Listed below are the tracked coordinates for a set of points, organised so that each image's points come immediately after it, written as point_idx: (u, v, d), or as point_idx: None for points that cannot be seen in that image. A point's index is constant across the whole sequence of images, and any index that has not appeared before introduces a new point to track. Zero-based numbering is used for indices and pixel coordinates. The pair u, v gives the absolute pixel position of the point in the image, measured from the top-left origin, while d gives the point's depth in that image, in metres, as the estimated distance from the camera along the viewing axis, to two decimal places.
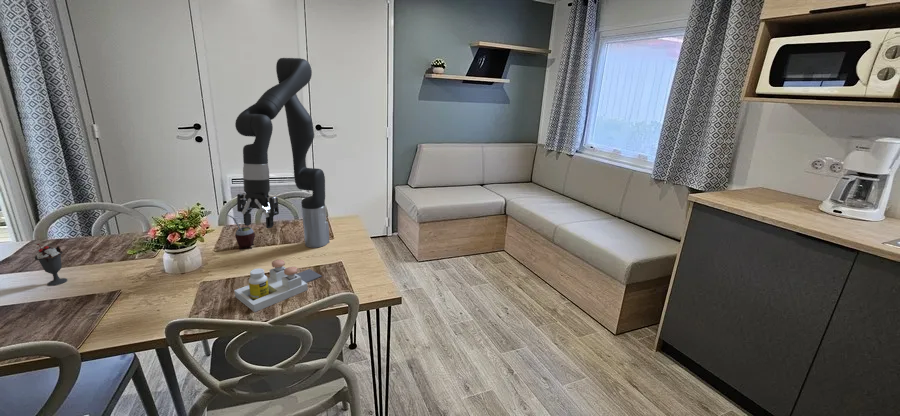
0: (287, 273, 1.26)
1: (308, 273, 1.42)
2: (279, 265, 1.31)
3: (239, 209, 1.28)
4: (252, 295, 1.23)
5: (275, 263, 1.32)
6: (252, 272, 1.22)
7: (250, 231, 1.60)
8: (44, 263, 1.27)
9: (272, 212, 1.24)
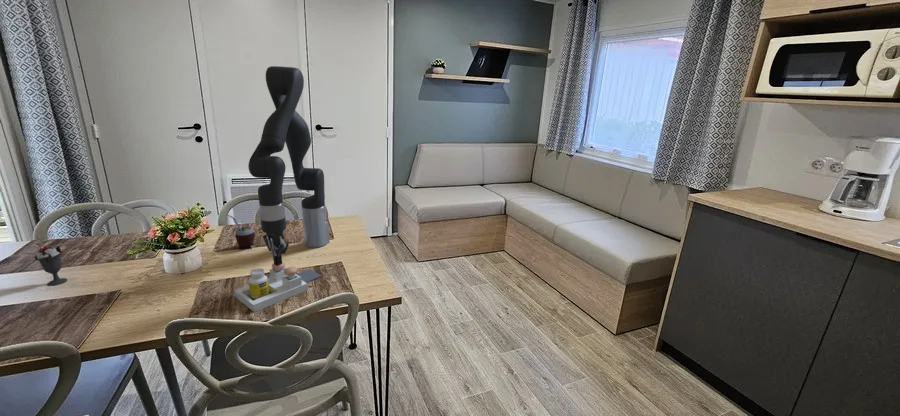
0: (287, 273, 1.26)
1: (308, 273, 1.42)
2: (279, 267, 1.31)
3: (269, 248, 1.32)
4: (252, 295, 1.23)
5: (275, 265, 1.32)
6: (252, 272, 1.22)
7: (250, 231, 1.60)
8: (44, 263, 1.27)
9: (277, 253, 1.28)
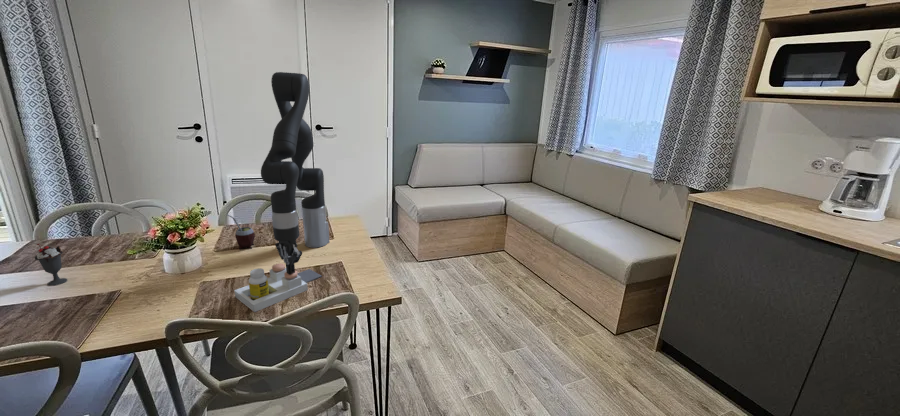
0: (287, 276, 1.26)
1: (308, 273, 1.42)
2: (279, 269, 1.32)
3: (281, 257, 1.27)
4: (252, 295, 1.23)
5: (275, 267, 1.32)
6: (252, 272, 1.22)
7: (250, 231, 1.60)
8: (44, 263, 1.27)
9: (290, 262, 1.24)
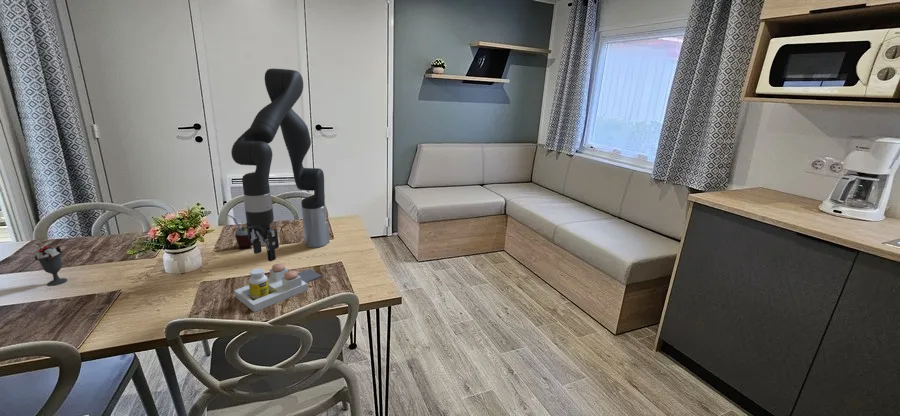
0: (287, 277, 1.27)
1: (308, 273, 1.42)
2: (279, 269, 1.32)
3: (249, 237, 1.23)
4: (252, 295, 1.23)
5: (275, 267, 1.32)
6: (252, 272, 1.22)
7: None
8: (44, 263, 1.27)
9: (270, 246, 1.16)
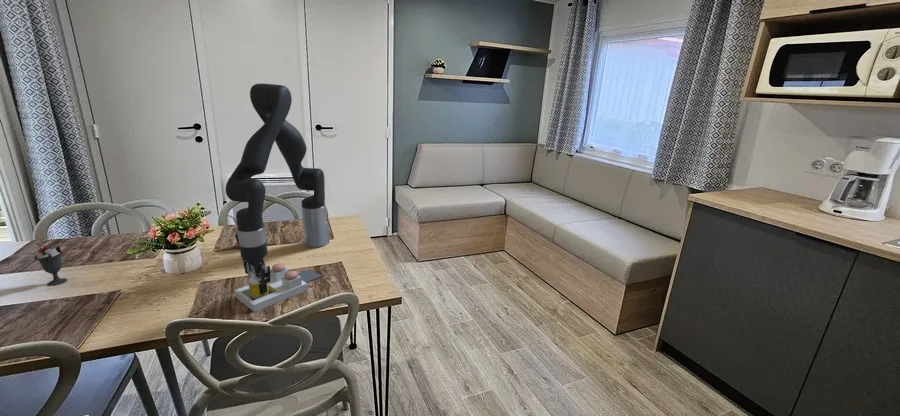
0: (287, 277, 1.27)
1: (308, 273, 1.42)
2: (279, 269, 1.32)
3: (246, 271, 1.26)
4: (252, 295, 1.23)
5: (275, 267, 1.32)
6: (252, 272, 1.22)
7: None
8: (44, 263, 1.27)
9: (262, 281, 1.19)
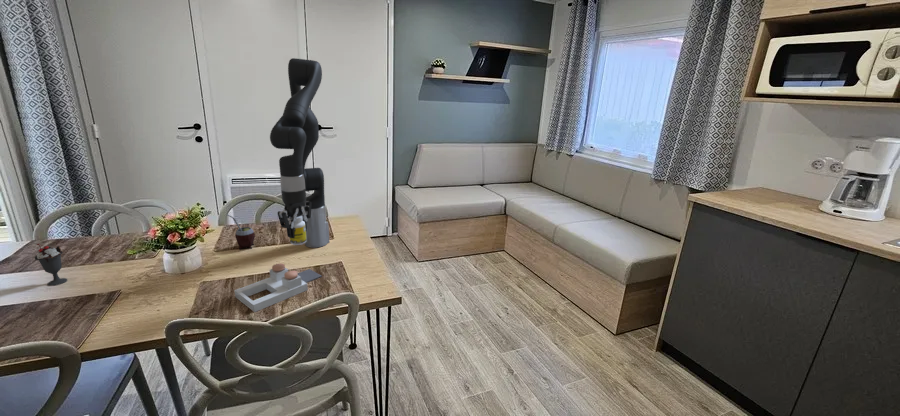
0: (287, 277, 1.27)
1: (308, 273, 1.42)
2: (279, 269, 1.32)
3: None
4: None
5: (275, 267, 1.32)
6: None
7: (250, 231, 1.60)
8: (44, 263, 1.27)
9: None
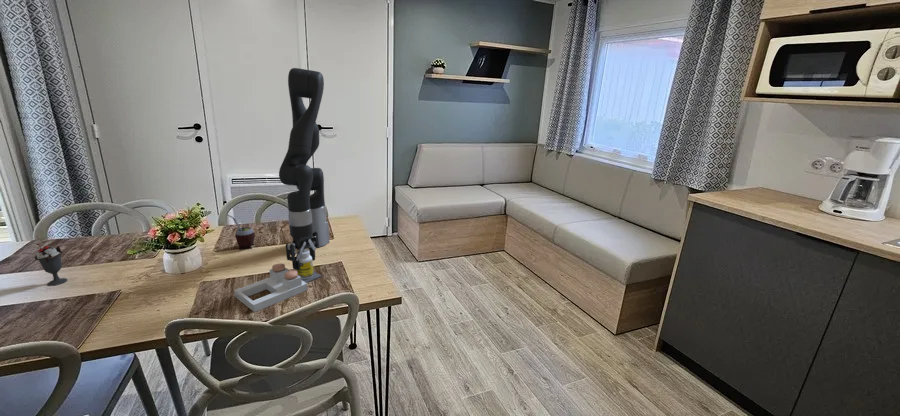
0: (287, 277, 1.27)
1: None
2: (279, 269, 1.32)
3: None
4: None
5: (275, 267, 1.32)
6: None
7: (250, 231, 1.60)
8: (44, 263, 1.27)
9: None
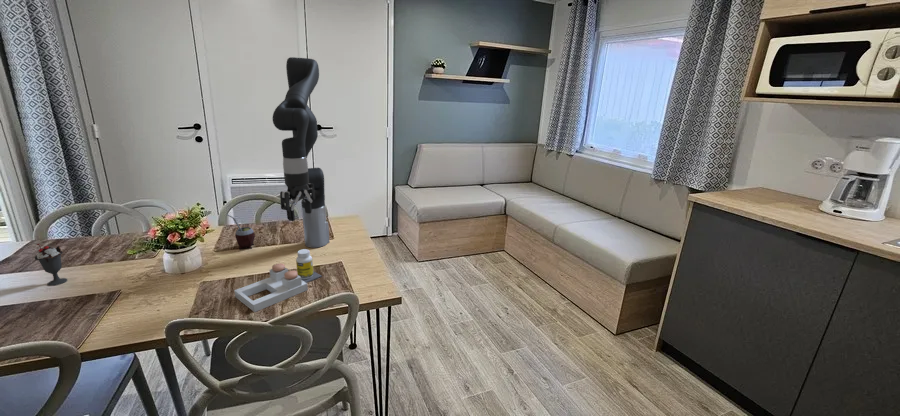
0: (287, 277, 1.27)
1: None
2: (279, 269, 1.32)
3: None
4: None
5: (275, 267, 1.32)
6: (300, 250, 1.38)
7: (250, 231, 1.60)
8: (44, 263, 1.27)
9: None
